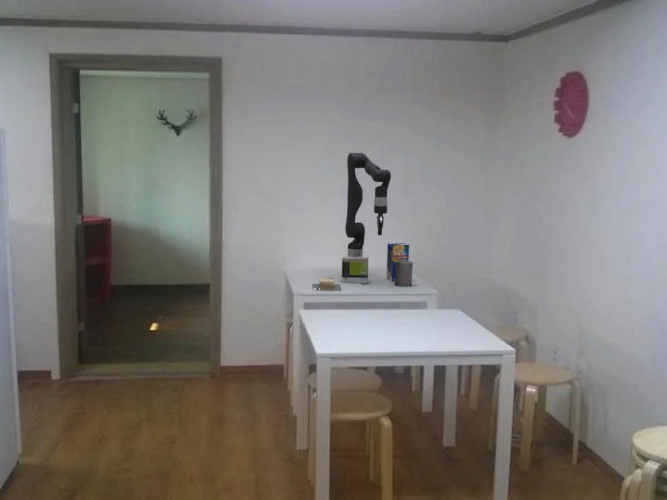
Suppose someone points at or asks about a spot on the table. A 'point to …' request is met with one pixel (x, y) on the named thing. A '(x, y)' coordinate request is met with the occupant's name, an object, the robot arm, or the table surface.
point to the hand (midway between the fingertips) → (379, 235)
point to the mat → (336, 288)
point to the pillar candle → (403, 273)
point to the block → (326, 283)
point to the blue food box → (395, 258)
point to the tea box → (355, 270)
